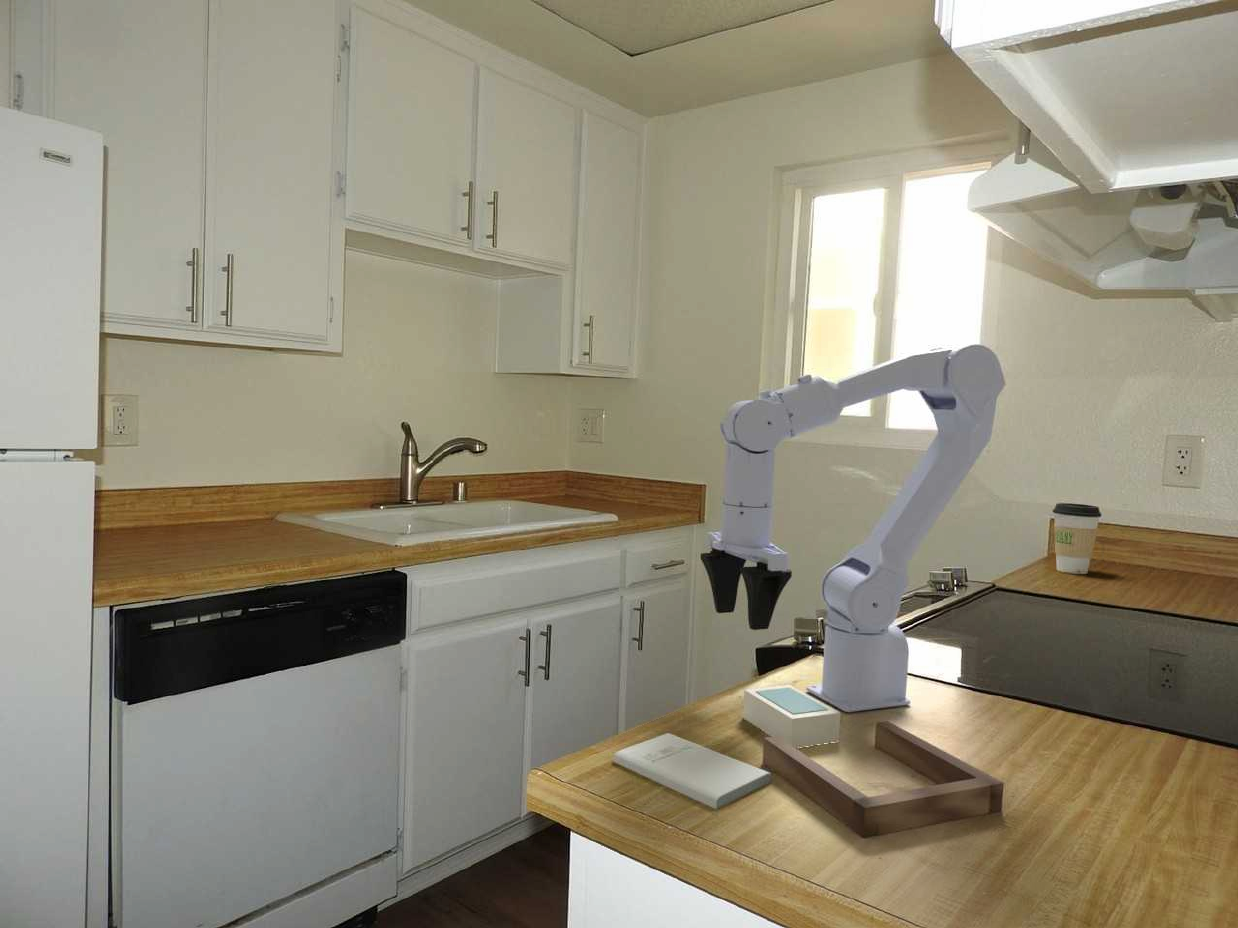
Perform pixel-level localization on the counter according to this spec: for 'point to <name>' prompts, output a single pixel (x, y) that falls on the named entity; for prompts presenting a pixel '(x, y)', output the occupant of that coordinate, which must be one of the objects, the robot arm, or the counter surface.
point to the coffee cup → (1075, 536)
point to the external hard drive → (692, 769)
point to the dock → (870, 816)
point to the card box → (791, 715)
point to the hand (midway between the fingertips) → (741, 620)
